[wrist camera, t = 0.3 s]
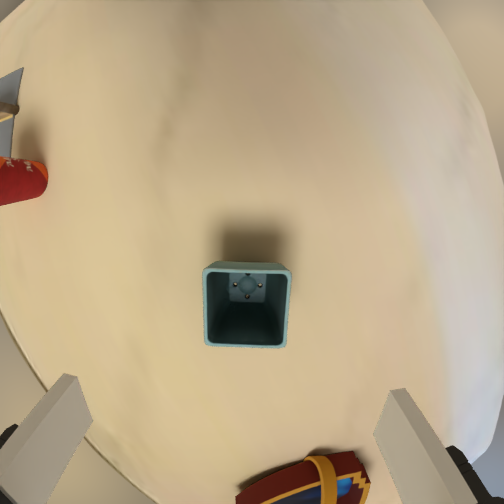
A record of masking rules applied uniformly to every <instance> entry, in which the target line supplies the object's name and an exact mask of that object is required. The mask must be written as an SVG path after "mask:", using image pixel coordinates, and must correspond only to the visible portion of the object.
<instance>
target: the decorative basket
mask: <svg viewBox="0 0 504 504" xmlns="http://www.w3.org/2000/svg"><path fill="white" fill-rule="evenodd" d="M370 484H371V482H370V480H369V477H368V475H367V473H366V471H365V468H364V466H363V464H362V463H361V464H360V462H359V460H358V458H356V457H355V454H354V452H353V451H349V452H341V453H336V454H331V455H326V456H308V457H306V458H305V459H304V461H303V462H302V463H299V464H296V465H294V466H291V467H288V468H286V469H283V470H281V471H278V472H276V473H273V474H271V475H269V476H267V477H265V478H263V479H261V480H259V481H258V482H256V483H254V484H252V485H251V486H249V487H248V488H246V489H245V490H243V491H242V492H241V493H240V494H238V495H237V496H235V497H236V504H364V503H365V501H366V499H367V496H368V492H369V488H370Z"/></svg>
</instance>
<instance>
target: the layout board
mask: <svg viewBox="0 0 504 504" xmlns="http://www.w3.org/2000/svg"><path fill="white" fill-rule="evenodd" d="M22 73H23V67H22V68H20V69H18V70H16V71H14V72H12V73H10V74H8V75H6V76H4V77H2V78H1V79H0V101H1V102H5V103H9V104H12V105H16V103H17V97H18V92H19V87H20V82H21V77H22ZM14 117H15V115H14V114H13V115H10V116H8V117H5V118H3V119H1V120H0V156H2V157H10V158H11V145H12V134H13V125H14Z"/></svg>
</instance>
